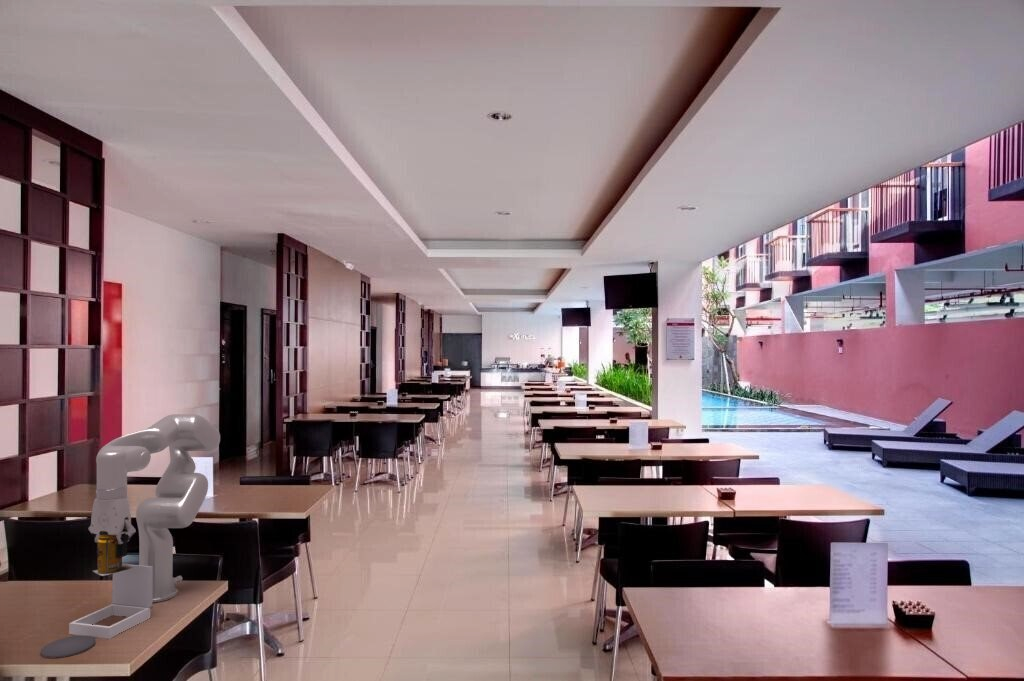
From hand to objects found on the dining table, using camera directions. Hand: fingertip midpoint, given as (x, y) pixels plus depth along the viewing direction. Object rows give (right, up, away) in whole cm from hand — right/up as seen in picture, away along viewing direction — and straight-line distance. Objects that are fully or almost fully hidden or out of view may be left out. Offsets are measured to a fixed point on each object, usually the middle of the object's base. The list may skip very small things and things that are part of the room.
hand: (111, 555), depth 191 cm
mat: (-2, -20, -15) cm, 25 cm away
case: (0, -20, -1) cm, 20 cm away
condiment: (0, -4, 0) cm, 4 cm away
